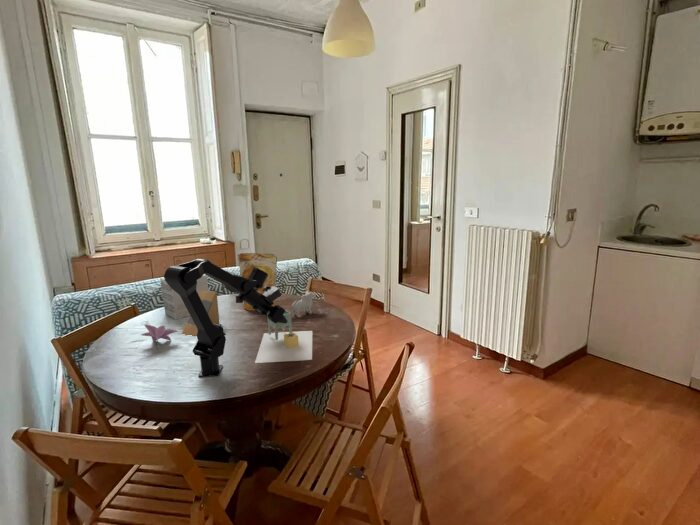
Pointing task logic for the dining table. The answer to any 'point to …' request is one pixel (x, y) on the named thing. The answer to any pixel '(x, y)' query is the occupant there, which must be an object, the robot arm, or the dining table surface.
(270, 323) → the green hollow square frame
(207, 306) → the sandwich container
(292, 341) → the plus sign cube
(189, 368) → the dining table surface
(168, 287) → the supplement box
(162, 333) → the lily
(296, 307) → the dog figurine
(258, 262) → the pancake mix bag
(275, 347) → the white rectangular sheet
